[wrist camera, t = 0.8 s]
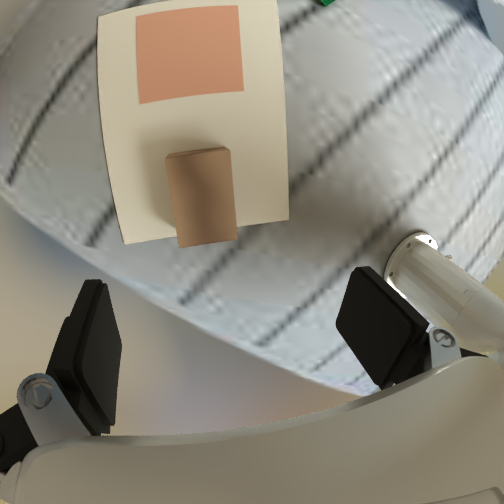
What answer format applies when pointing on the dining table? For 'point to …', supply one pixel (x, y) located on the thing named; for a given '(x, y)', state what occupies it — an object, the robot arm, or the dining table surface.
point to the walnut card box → (202, 196)
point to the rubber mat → (192, 105)
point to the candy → (327, 2)
